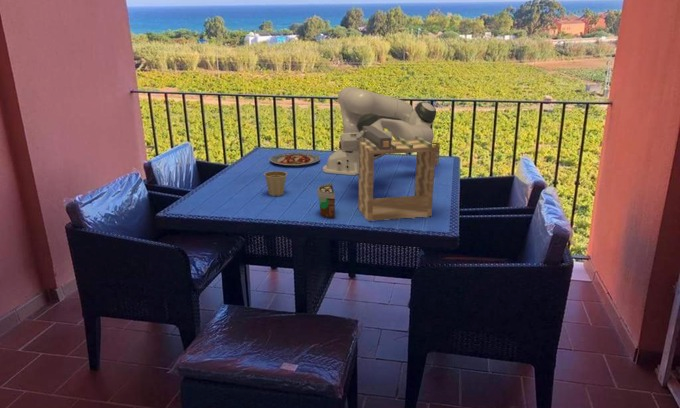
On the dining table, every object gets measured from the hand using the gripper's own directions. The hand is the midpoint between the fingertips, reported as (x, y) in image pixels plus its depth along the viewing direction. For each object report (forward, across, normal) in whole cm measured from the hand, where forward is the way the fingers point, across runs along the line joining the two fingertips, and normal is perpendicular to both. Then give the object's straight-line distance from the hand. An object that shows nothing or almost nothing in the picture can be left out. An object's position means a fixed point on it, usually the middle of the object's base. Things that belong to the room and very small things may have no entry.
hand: (370, 132), depth 194 cm
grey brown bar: (+6, 0, -6) cm, 8 cm away
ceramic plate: (-77, +20, +11) cm, 80 cm away
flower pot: (-32, +34, -15) cm, 49 cm away
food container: (-8, +19, -29) cm, 35 cm away
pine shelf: (-4, -6, -30) cm, 31 cm away
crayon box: (-60, -47, +2) cm, 76 cm away
